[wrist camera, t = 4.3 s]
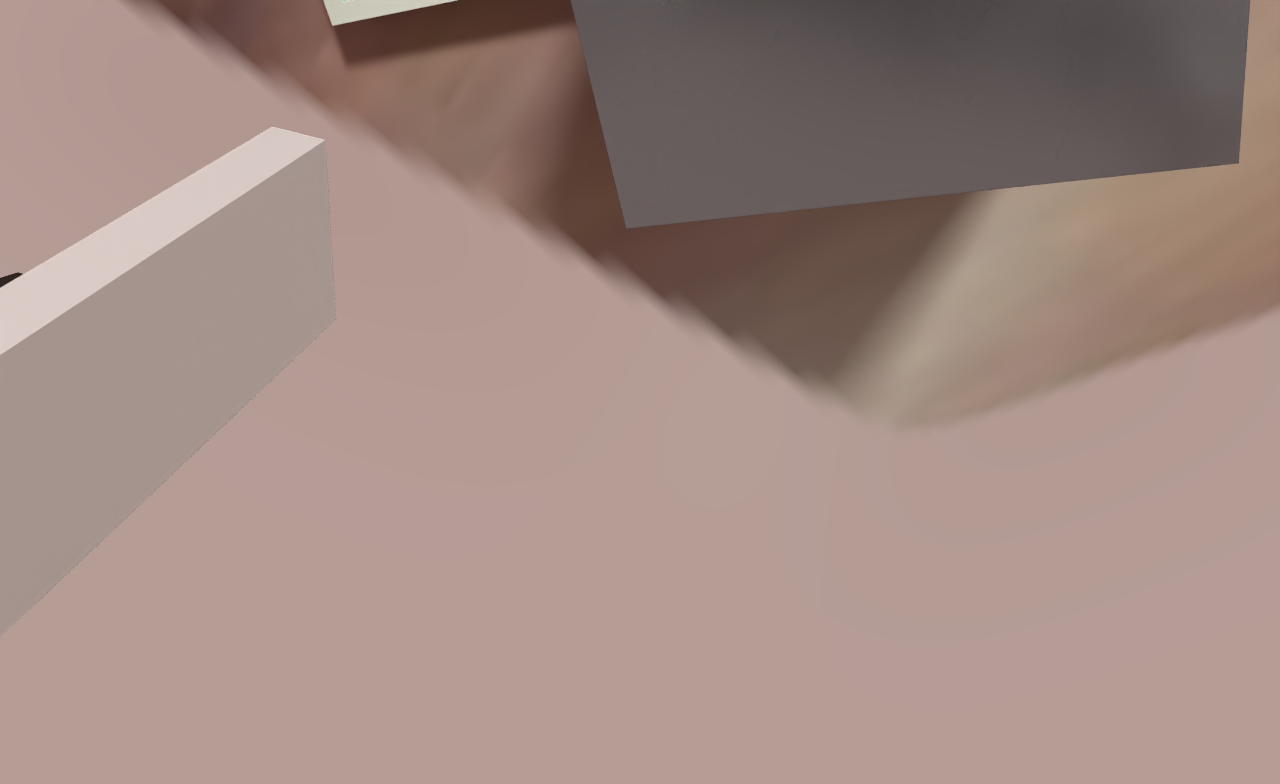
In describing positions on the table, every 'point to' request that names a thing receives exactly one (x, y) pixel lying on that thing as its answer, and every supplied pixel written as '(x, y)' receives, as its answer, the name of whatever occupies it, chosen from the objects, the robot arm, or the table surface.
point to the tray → (371, 8)
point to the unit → (902, 97)
